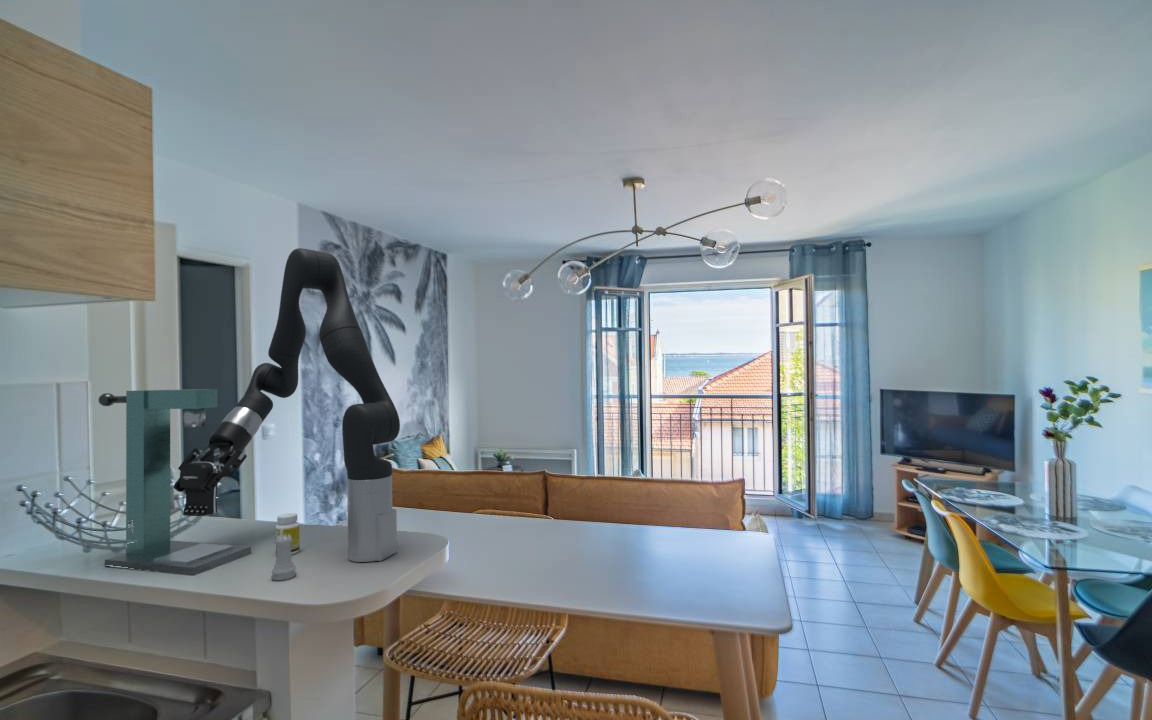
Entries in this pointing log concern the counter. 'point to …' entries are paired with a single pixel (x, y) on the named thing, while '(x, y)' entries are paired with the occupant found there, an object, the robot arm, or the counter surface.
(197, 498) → the battery
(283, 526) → the supplement bottle
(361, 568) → the counter surface
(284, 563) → the rook chess piece
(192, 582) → the counter surface
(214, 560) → the arbor press
